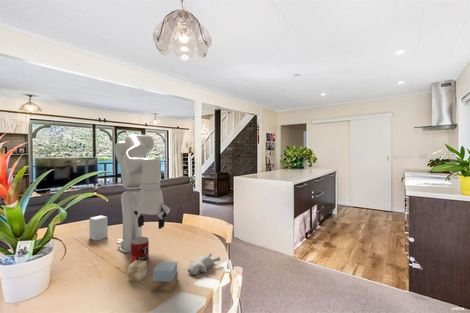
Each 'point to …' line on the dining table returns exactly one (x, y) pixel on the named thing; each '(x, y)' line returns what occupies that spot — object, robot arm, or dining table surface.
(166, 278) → the tower top block
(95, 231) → the supplement box
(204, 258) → the white figure shaped piece
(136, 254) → the canned food
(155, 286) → the tower base block
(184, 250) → the dining table surface
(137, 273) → the maple block
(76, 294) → the dining table surface
